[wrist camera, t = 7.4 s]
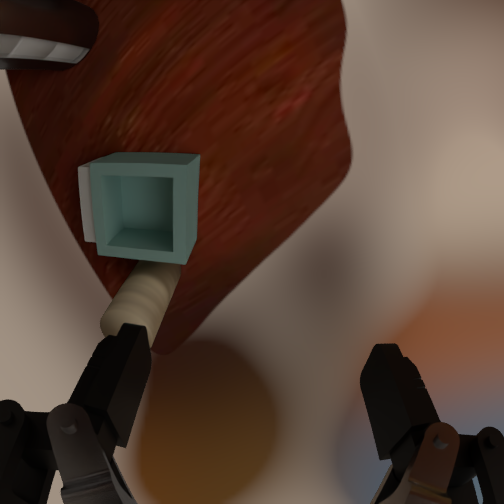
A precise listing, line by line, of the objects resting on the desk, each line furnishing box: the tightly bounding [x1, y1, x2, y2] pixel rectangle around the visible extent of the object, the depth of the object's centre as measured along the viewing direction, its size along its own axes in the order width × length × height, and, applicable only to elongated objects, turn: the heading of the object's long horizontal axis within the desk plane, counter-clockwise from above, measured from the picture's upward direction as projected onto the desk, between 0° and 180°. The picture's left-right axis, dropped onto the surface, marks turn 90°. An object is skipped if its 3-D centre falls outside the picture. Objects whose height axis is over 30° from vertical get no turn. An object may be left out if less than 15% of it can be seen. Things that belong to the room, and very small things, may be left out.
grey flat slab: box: [78, 157, 103, 242], centre depth 22 cm, size 6×1×4 cm, turn 174°
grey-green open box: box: [90, 152, 200, 265], centre depth 22 cm, size 7×7×4 cm
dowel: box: [100, 260, 181, 348], centre depth 23 cm, size 4×4×9 cm
